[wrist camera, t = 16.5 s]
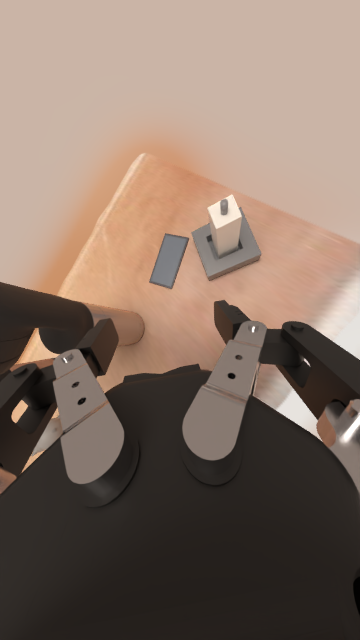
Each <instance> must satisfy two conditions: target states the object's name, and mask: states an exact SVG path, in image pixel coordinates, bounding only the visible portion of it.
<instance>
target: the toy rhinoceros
mask: <svg viewBox="0 0 360 640" xmlns="http://www.w3.org/2000/svg"><path fill="white" fill-rule="evenodd" d="M62 433H63V430H62V425H61V420H60V415H59V416H58V417H57V418H52V419H51V420H50V421H49V423H48V425H47V427H46V429H45V430H44V432H43V434H42V436H41V438H40V439H39V441H38V443H37V445H36V447H35V448H34V450H33V453H32V456H34V455H35V454H36V453H38V452H41V451H43V450H46V449H47V448H48V447H49V446H51V445H52V444H53V443H54V442H55V441H56V440H57V439H58V438H59V437H60V436H61V434H62Z"/></svg>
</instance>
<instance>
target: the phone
mask: <svg viewBox="0 0 360 640" xmlns="http://www.w3.org/2000/svg"><path fill="white" fill-rule="evenodd" d="M188 240H189V238H187V237H182V236H176V235H171V234H166V233H165V236H164V239H163V242H162V245H161V248H160V251H159V254H158V257H157V260H156V263H155V266H154V269H153V272H152V275H151V278H150V281H149V282H150V283H153V284H157V285H160V286H163V287H167V288H170V289H172V287H173V285H174V282H175V279H176V276H177V273H178V270H179V267H180V264H181V261H182V258H183V255H184V252H185V249H186V246H187V243H188Z"/></svg>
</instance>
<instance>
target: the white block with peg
mask: <svg viewBox="0 0 360 640" xmlns="http://www.w3.org/2000/svg"><path fill="white" fill-rule="evenodd" d="M208 215H209V222H210V228H211V235H212V242H213V246H214V248H215V251H216V253H217V256H218V258H219V259H221V258H223V257H225V256H227V255H230V254H232V253H234V252H236V251H237V248H238V241H239V234H240V227H241V220H242V215H241V213H240V210H239V208H238V206H237V204H236V201H235V199H234V197H233V195H230V196H228V197H227V198H225V199H223V200H221V201H219V202H217V203H215V204H214V205H212V206H210V207H208Z"/></svg>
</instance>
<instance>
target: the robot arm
mask: <svg viewBox="0 0 360 640" xmlns="http://www.w3.org/2000/svg"><path fill="white" fill-rule="evenodd" d="M214 321H215V326H216V328H217V330H218V331H219V333H220V335H221V337H222V338H223V340H224V342H225V343H226V347H225V349H224V351H223V353H222V355H221V356H220V358H219V360H218V362H217V364H216V366H215V368H214V370H213V372H212V371H208V370H201V369H200V367H199V364H195V365H189V366H183V367H179V368H177V369H174V370H171V371H169V372H166V373H163V374H149V373H141V374H135V375H129V376H125V377H124V380H123V383H121V384H119V385H117V386H115V387H113V388H111V389H110V390H109V391H107V392H106V393H105V394H104V392H103V390H102V388H101V387H100V385H99V383H98V381H97V380H96V378H97V376H102V375H105V374H106V372H107V369H108V367H109V365H110V362H111V360H112V357H113V355H114V352H115V350H116V348H117V346H123V345H129V344H134V343H136V342H137V341H139V340H140V338H141V337H142V335H143V332H144V323H143V320H142V319H141V317H140V316H139V315H138V314H136V313H134V312H129V311H125V310H120V309H114V308H109V307H104V306H99V305H94V304H88V303H83V302H77V301H72V300H69V299H65V298H62V297H59V296H55V295H51V294H47V293H42V292H38V291H33V290H29V289H25V288H21V287H17V286H14V285H10V284H5V283H2V282H0V375H1V374H3V373H5V372H6V371H7V370H9V369H10V368H11V367H12V366H13V365H14V364H15V363H16V362H17V361H18V359H19V358H20V356H21V354H22V352H23V351H24V348H25V347H26V345H27V343H28V341H29V339H30V337H31V335H32V333H33V331H34V329H35V328H39V335H40V338H41V340H42V342H43V344H44V346H45V347H46V348H47V349H48V350H49V351H51V352H53V353H56V354H60V355H59V356H58V357H57V358H55V360H54V361H53V365H50V366H47V367H44V368H41V369H40V368H39V367H38V366H37V364H35V363H30V364H26V365H23V366H21V367H19V368H17V369H15V370H13V371H12V372H11V373H9V374H8V375H7V376H6V377H5V378H4V379H3V380H2V381H1V382H0V640H360V360H359V359H358V358H356V357H354V356H353V355H352V354H350V353H349V352H347V351H346V350H344V349H343V348H341V347H340V346H338V345H337V344H336V343H334V342H333V341H331V340H330V339H328V338H327V337H325V336H324V335H322V334H321V333H320V332H318V331H317V330H315V329H314V328H312V327H311V326H309V325H307V324H305V323H302V322H296V321H289V322H285V323H284V324H283V325H282V329H267V327H266V325H265V324H263V323H261V322H258V321H251V320H250V319H249V318H248V317H247V316H246V315H245V314H243V312H242V311H241V310H240V309H239V308H238V307H236V306H233V305H229V304H228V303H227V302H226V301H225V300H222V301H215V302H214ZM304 358H305V359H306V360H307V361H308V362H309V364H310V366H309V365H308V364H307V363H306V362H305V361H304ZM261 364H273V365H276V367H277V368H278V369H279V370H280V372H281V373H282V374H283V376H284V377H285V378H286V380H287V381H288V382H289V383H290V385H291V386H292V387H293V389H294V390H295V391H296V393H297V394H298V395H299V396H300V398H301V399H302V400H303V402H304V403H305V404H306V406H307V407H308V408H309V410H310V411H311V412H312V413H313V415H314V416H315V417H316V419H317V420H318V422H317V431H318V434H319V436H320V437H321V439H322V441H323V442H322V441H321V440H319V439H318V438H317V437H316V436H314V435H313V434H311V433H310V432H309V431H307V430H305V429H304V428H302V427H301V426H299V425H298V424H296V423H295V422H293V421H291V420H290V419H288V418H286V417H285V416H284V415H282V414H280V413H279V412H277V411H276V410H274V409H273V408H271V407H270V406H268V405H267V404H265V403H263V402H262V401H260V400H259V399H257V398H256V397H254V393H255V388H256V383H257V379H258V374H259V370H260V366H261ZM21 400H23V401H24V402H25V403H26V404H27V405H28V408H27V409H26V411H25V412H24V413H23V415H22V416H21V418H20V419H19V420H18V422H17V423H15V422H13V421H12V418H11V415H12V412H13V410H14V408H15V407H16V406H17V405H18V403H19V402H20V401H21ZM57 407H58V410H59V415H60V420H61V425H62V430H63V433H62V434H61V436H60V437H59V438H58V439H57V440H56V441H55V442H54V443H53V444H52V445H51V446H49V447H48V448H47V449H46V450H45V451H44V452H43V453H42V454H41V455H40V456H39V457H38V458H37V459H36V460H35V461H34V462H33V463H32V464H31V465H30V466H29V467H28V468H27V469H26V470H25V471H24V472H22V470H23V468H24V466H25V465H26V463H27V461H28V459H29V457H30V456H31V454H32V452H33V450H34V448H35V447H36V445H37V443H38V441H39V439H40V438H41V436H42V434H43V432H44V430H45V429H46V427H47V425H48V423H49V421H50V420H51V418H52V416H53V414H54V412H55V411H56V409H57ZM21 472H22V473H21Z"/></svg>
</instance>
